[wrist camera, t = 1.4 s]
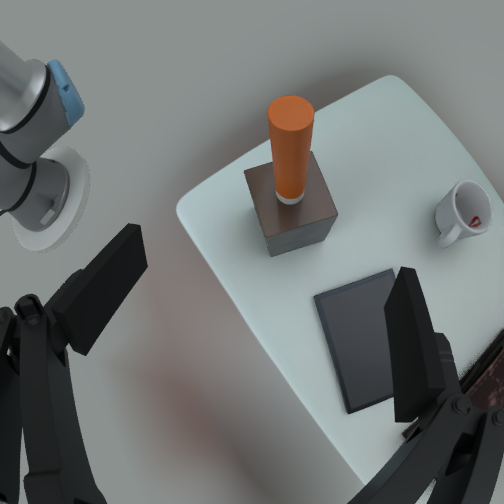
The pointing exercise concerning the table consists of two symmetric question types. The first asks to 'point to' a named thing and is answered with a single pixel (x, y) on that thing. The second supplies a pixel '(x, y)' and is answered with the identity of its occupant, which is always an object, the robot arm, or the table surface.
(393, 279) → the tablet
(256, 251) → the table surface
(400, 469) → the robot arm
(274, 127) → the orange cylinder
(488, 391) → the diary
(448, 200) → the cup
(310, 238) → the tall brown-topped block
